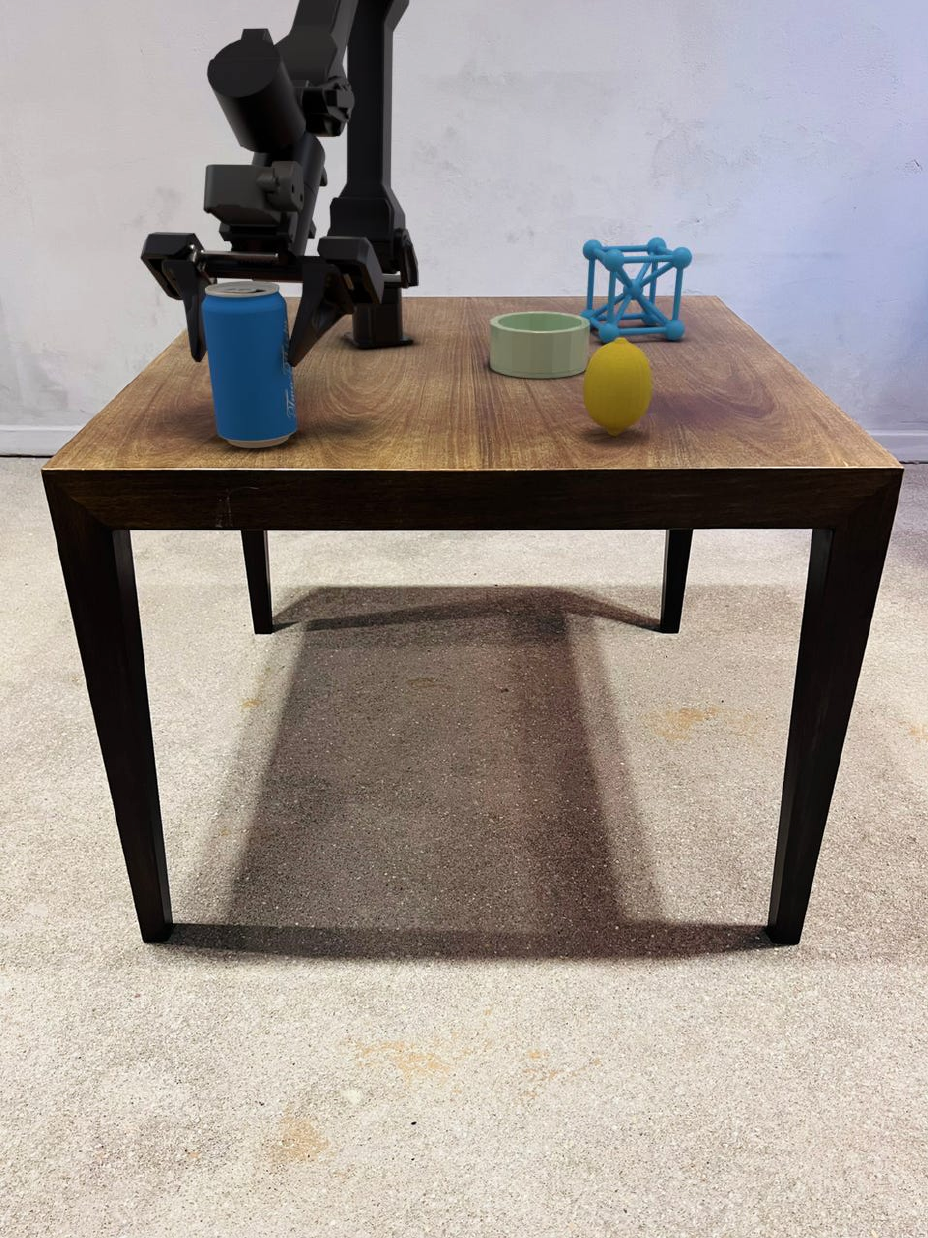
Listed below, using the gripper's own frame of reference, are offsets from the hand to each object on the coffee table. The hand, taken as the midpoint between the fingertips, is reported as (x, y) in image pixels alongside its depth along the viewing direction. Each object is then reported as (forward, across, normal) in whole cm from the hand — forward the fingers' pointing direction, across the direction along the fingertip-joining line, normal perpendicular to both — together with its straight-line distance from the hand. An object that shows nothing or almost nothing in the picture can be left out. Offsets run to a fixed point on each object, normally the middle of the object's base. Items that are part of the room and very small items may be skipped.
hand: (242, 361), depth 77 cm
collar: (-16, +19, +25) cm, 36 cm away
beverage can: (+4, 0, +6) cm, 7 cm away
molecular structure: (-27, +28, +37) cm, 54 cm away
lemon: (-1, +29, +10) cm, 31 cm away
